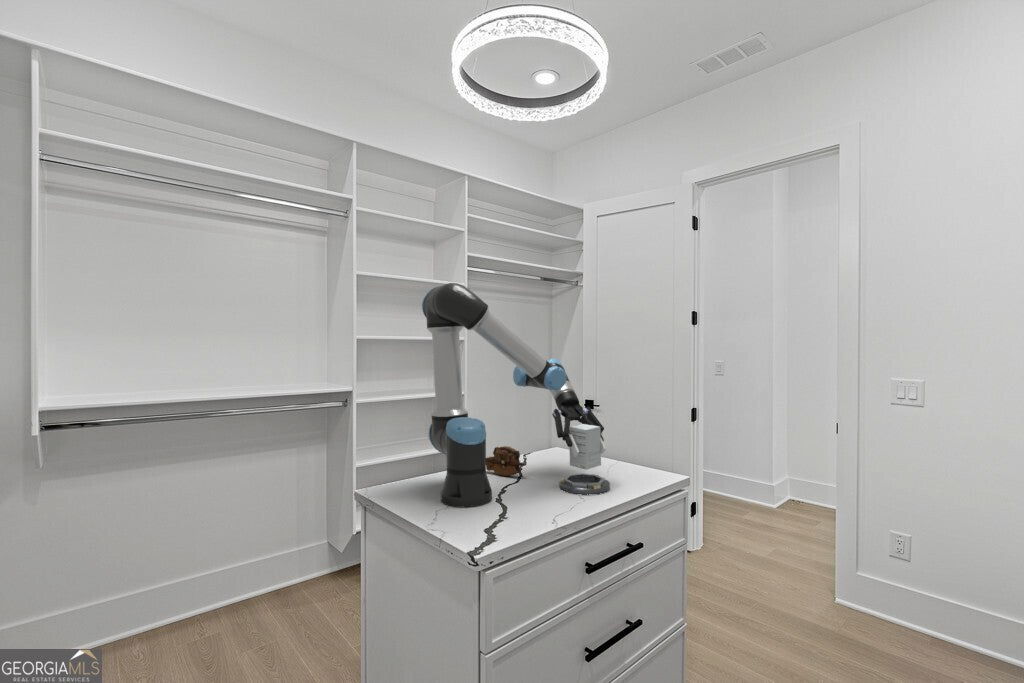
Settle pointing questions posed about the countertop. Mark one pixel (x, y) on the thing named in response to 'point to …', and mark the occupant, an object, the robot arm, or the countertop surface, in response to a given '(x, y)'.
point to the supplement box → (586, 446)
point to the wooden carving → (504, 461)
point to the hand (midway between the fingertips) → (590, 452)
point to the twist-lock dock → (584, 484)
